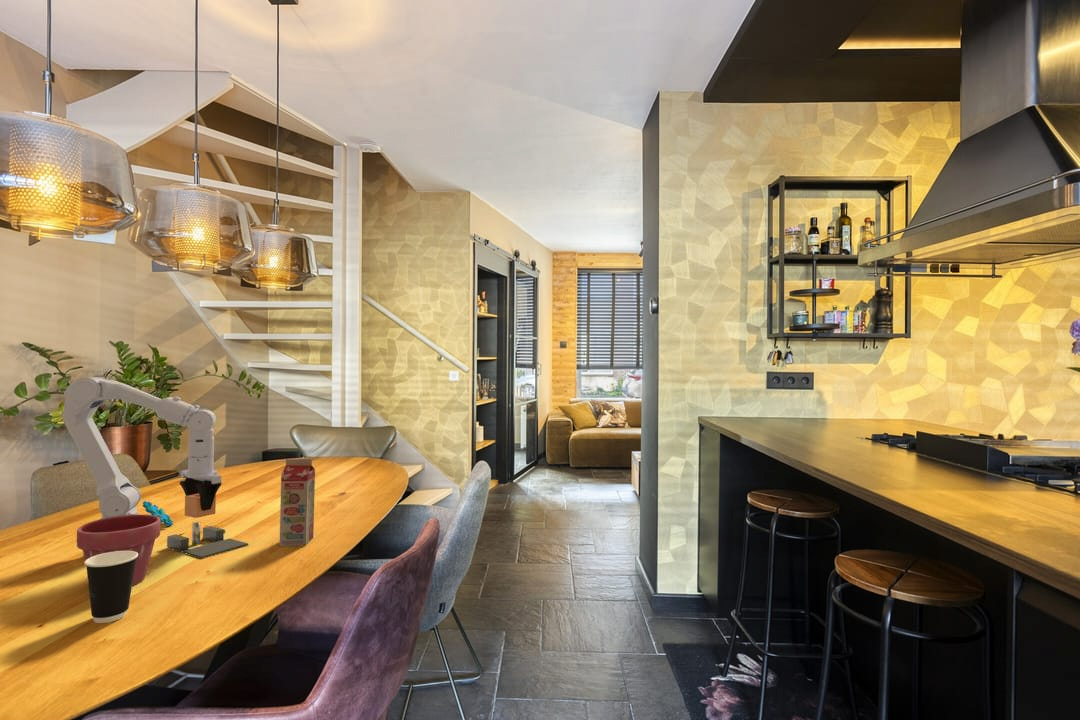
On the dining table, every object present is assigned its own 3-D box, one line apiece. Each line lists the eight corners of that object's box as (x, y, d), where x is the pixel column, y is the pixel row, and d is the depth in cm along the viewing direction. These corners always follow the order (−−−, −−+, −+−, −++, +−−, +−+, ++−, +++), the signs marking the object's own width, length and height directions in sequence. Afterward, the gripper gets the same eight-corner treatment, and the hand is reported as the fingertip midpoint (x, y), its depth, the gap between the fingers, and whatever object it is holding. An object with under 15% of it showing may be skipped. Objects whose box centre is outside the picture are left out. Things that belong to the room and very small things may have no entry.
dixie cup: (70, 624, 99) (72, 563, 100) (111, 606, 107) (113, 549, 107) (108, 629, 98) (110, 566, 98) (147, 610, 106) (148, 552, 106)
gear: (170, 524, 156) (142, 500, 155) (151, 541, 154) (122, 517, 152) (179, 519, 166) (153, 497, 165) (162, 535, 164) (135, 512, 163)
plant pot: (62, 600, 110) (64, 535, 110) (90, 575, 123) (92, 516, 123) (148, 590, 115) (150, 528, 115) (166, 567, 128) (167, 512, 128)
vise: (180, 552, 138) (180, 530, 139) (166, 548, 141) (167, 526, 141) (230, 538, 150) (231, 518, 150) (217, 535, 153) (217, 515, 153)
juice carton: (287, 538, 151) (290, 457, 152) (313, 537, 152) (315, 457, 152) (279, 546, 145) (281, 461, 145) (305, 545, 145) (308, 461, 146)
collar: (195, 518, 141) (196, 498, 141) (184, 515, 143) (185, 495, 144) (215, 513, 146) (215, 494, 146) (204, 511, 148) (204, 492, 148)
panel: (201, 558, 134) (201, 556, 134) (182, 552, 138) (182, 550, 138) (248, 545, 145) (248, 543, 145) (229, 540, 148) (229, 538, 148)
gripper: (233, 456, 145) (231, 508, 145) (200, 451, 152) (199, 501, 151) (206, 460, 139) (204, 514, 138) (173, 455, 145) (171, 507, 145)
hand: (199, 508), depth 144 cm, fingers closed on collar, 5 cm apart
